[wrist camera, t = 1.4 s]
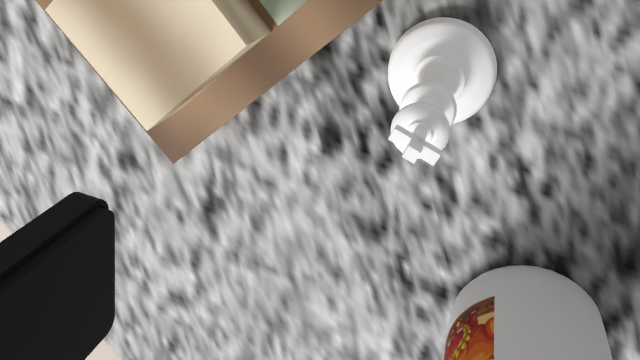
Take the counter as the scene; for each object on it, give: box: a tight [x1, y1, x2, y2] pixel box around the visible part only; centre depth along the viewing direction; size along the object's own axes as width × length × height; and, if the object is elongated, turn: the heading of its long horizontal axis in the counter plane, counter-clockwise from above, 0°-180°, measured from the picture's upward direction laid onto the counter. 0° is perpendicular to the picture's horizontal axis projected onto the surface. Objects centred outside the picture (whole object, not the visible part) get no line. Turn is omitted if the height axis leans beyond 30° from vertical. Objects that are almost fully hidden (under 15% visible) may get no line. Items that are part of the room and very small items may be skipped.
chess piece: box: [388, 17, 497, 166], centre depth 22 cm, size 5×5×10 cm
